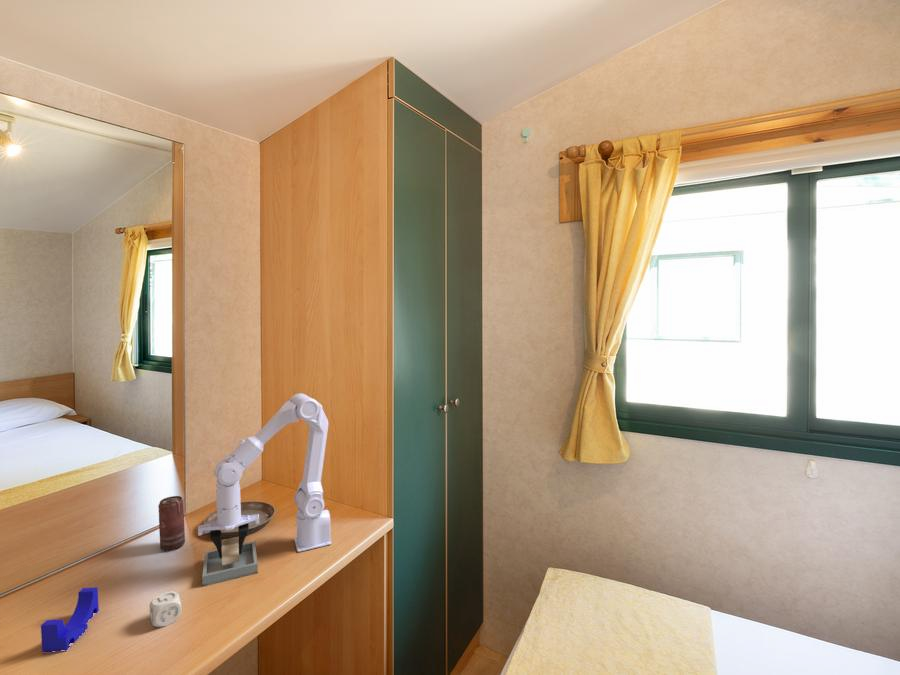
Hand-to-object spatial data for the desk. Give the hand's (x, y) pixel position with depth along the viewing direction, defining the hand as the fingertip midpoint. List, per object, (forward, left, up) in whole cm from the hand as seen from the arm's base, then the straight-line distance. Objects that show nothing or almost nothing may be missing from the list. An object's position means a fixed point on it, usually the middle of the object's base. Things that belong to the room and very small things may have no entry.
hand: (230, 554), depth 118 cm
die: (+13, +16, -4) cm, 21 cm away
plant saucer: (-3, -25, -4) cm, 25 cm away
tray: (0, 0, -3) cm, 3 cm away
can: (+15, -19, -4) cm, 24 cm away
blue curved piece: (+30, +12, -4) cm, 32 cm away
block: (0, 0, -1) cm, 1 cm away
